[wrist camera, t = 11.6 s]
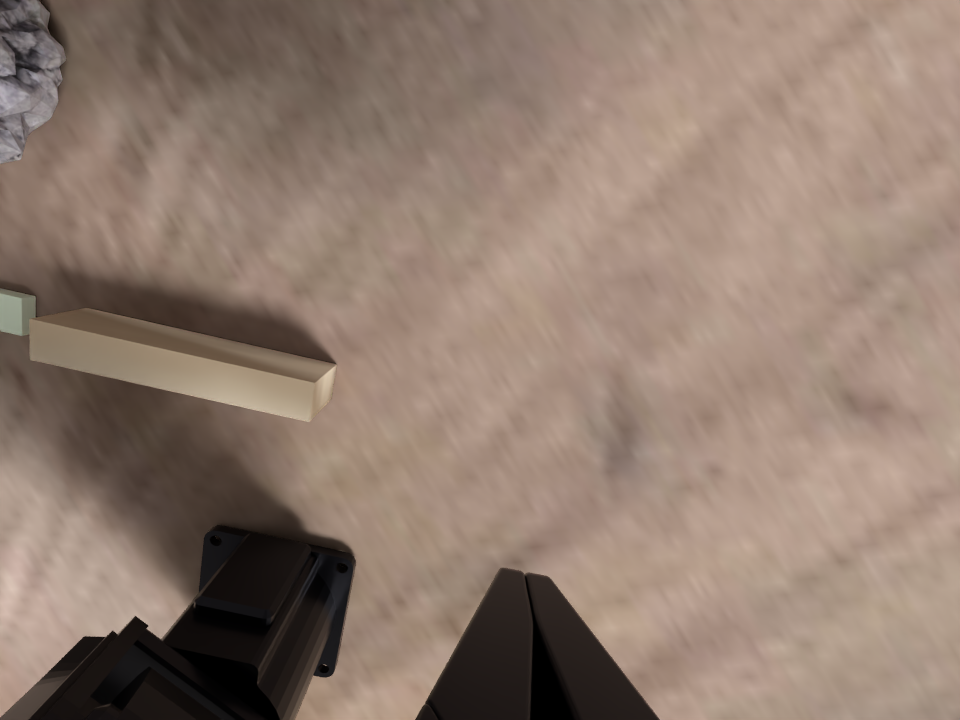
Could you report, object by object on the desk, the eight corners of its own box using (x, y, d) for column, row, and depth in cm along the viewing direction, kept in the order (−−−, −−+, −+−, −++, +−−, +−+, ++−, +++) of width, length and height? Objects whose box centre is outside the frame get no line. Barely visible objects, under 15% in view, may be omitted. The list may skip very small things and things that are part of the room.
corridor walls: (331, 399, 20) (309, 421, 18) (85, 344, 20) (29, 359, 18) (427, -206, 15) (414, -288, 13) (102, -290, 15) (26, -388, 13)
